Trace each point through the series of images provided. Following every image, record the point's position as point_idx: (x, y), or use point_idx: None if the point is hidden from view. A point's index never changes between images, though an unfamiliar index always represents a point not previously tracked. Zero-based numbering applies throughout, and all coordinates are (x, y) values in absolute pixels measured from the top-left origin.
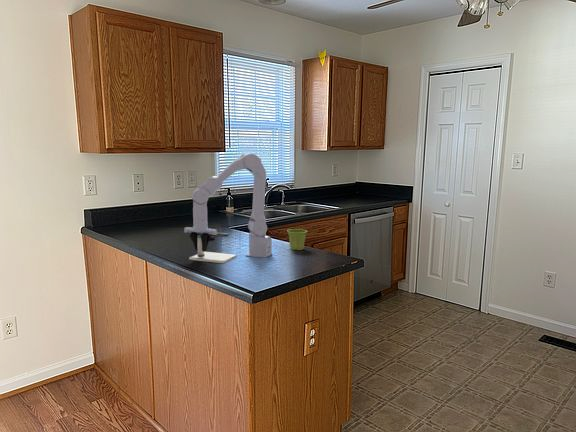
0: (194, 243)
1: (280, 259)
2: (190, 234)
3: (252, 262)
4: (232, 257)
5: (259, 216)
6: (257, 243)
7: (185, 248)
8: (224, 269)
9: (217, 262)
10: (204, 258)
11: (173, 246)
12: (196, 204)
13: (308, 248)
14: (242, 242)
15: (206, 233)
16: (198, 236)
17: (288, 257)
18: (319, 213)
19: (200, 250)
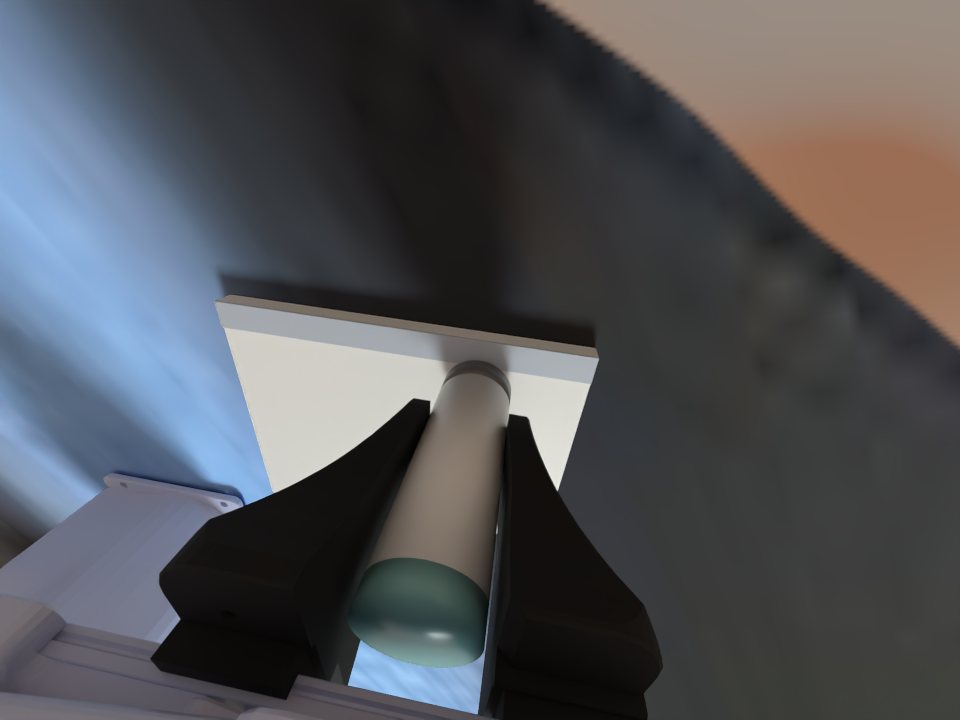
0: (533, 478)
1: (29, 460)
2: (640, 671)
3: (84, 371)
4: (261, 439)
5: None
6: (64, 577)
7: (736, 616)
8: (45, 66)
9: (284, 303)
10: (428, 355)
11: (851, 651)
12: None
13: None
14: (437, 690)
15: (191, 665)
16: (425, 596)
17: (39, 498)
18: None
19: (451, 402)
